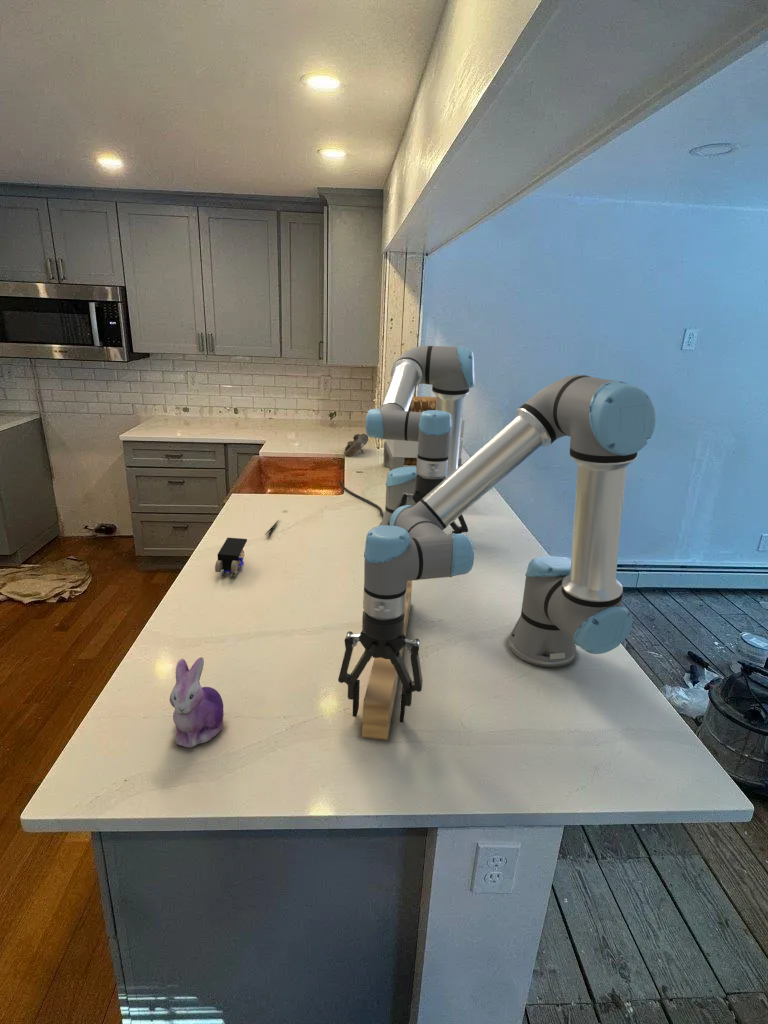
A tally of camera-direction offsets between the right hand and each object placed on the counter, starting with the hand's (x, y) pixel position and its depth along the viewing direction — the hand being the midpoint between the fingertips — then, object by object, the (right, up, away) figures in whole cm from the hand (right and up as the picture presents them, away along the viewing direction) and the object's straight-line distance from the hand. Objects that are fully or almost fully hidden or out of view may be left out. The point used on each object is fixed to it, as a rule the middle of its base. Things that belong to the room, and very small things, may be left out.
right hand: (378, 714), depth 109 cm
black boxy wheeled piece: (-44, +22, +59) cm, 76 cm away
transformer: (+18, +58, +166) cm, 177 cm away
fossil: (-14, +71, +199) cm, 212 cm away
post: (+3, +6, +19) cm, 20 cm away
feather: (-38, +34, +94) cm, 107 cm away
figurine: (-33, -1, -5) cm, 33 cm away
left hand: (+12, +28, +37) cm, 47 cm away
